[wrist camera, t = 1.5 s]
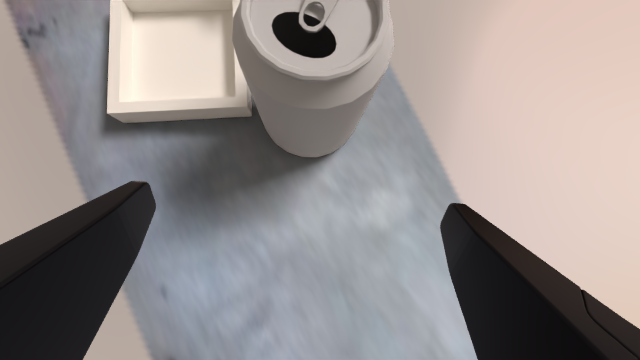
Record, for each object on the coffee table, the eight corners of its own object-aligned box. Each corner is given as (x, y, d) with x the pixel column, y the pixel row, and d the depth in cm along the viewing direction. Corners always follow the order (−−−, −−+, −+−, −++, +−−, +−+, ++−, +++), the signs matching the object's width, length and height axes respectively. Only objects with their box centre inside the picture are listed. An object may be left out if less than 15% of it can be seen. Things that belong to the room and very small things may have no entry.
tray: (252, 116, 23) (247, 106, 21) (124, 123, 23) (107, 113, 21) (247, 5, 25) (242, -14, 23) (126, 8, 24) (110, -11, 22)
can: (245, 132, 23) (184, 36, 11) (290, 56, 24) (278, -104, 13) (330, 176, 23) (357, 125, 11) (371, 97, 24) (436, -26, 12)
